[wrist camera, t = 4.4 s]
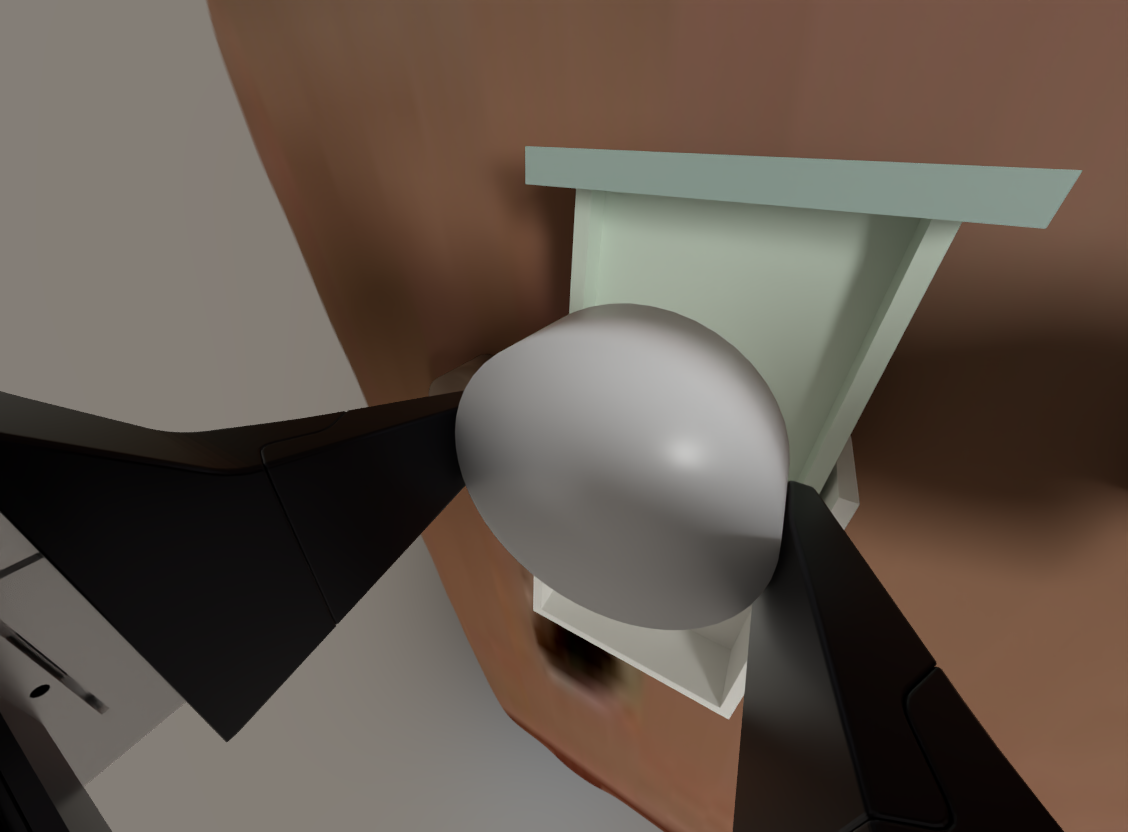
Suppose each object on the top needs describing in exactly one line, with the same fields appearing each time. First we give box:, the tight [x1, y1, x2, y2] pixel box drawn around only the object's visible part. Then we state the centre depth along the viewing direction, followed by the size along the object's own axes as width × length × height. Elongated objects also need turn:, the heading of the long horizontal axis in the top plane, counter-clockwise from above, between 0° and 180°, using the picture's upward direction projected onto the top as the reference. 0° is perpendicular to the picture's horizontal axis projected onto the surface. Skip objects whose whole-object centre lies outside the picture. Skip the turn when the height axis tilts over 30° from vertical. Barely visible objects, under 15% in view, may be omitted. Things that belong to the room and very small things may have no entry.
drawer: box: [525, 146, 1083, 494], centre depth 16 cm, size 12×16×4 cm
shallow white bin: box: [533, 436, 860, 719], centre depth 21 cm, size 12×16×4 cm
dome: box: [455, 303, 790, 630], centre depth 8 cm, size 6×6×2 cm
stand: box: [429, 354, 493, 396], centre depth 24 cm, size 4×4×4 cm
